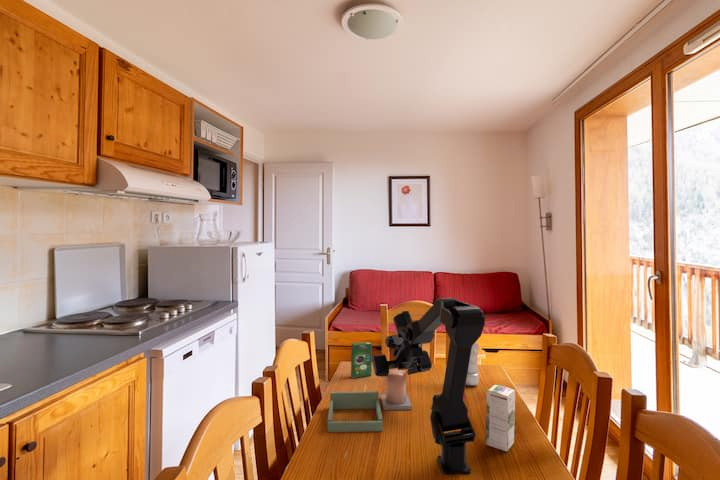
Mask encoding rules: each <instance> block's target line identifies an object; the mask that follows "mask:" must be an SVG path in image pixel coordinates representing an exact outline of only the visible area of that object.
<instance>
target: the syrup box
mask: <svg viewBox="0 0 720 480" xmlns="http://www.w3.org/2000/svg"><path fill="white" fill-rule="evenodd" d="M485 408H486V409H485V410H486V411H485V413H486V414H485V420H486V421H485V422H486V423H485V445H487V446H489V447H491V448H495V449H498V450H501V451H504V452H509V450H510V449H511V447H512V446H513V445H514V444H515V429H516V428H515V427H516V426H515V425H516V424H515V423H516V422H515V421H516V420H515V419H516V390H515V389H513V388H510V387H507V386H502V385H499V384H494V385H493V386H491V387H490V388H489V389H488V390H486V407H485Z"/></svg>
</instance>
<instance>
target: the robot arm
mask: <svg viewBox="0 0 720 480" xmlns="http://www.w3.org/2000/svg"><path fill="white" fill-rule="evenodd" d="M392 321H393V323H394V327H395V330H396V333H397V334H391V335H387V336H386V338H385V345H386V348H387V349H388V348H390V349H392V352H391V354H392V356H393V357H394V358H393V360H388V359H387V355H386V354H385V353H382V354H381V353H380V354H373V355H372V366H373V370H374V375H375V376H376V377H381V378H382V379H384V378H386V376H388V373H389V370H394V369H397V370H402V371H405V370H407V372H406V375H407V376H410V375H415V374H420V373H425V372H429V371H430V370H431V369H432V367H433V364H432V363H433V362H432V359H431V357H430V355H429V352H428V351H427V350H424V349H423V345H424V344H425V345H426V344H430V343H431V342H432V341H433V340H434V338H435V337H436V336H435V331H436V330H437V329H438V328H439V327H440V326H441V325H442V324H443V325H444V330H445V332H446V334H447V336H448V338H449V345H448V351H447V359H446V360H447V361H446V364H445V365H446V366H445V372H444V379H443V385H442V390H441V391H442V392H441V393H440V394H435V395H434V394H433V397H432V403H431V407H430V410H431V413H430V416H429V419H430V425H431V430H432V431H431V432H432V437H433V439H434V443H435V444H437V445H440V447H441V452H440V455H437V456H436V458H437V461H438V464H439V466H440V469H441V472H442V473H443V474H470V473H472V471H471V468H470V465H469V464H468V462H467V443H470V442H472V443H473V442H475V440H476V433H475V430H474V428H473V424H472V422H471V419H470V417H469V409H468V407H467V405H466V404H465V401H464V398H465V397H464V395H465V392H466V391H465V390H466V389H465V388H466V386H467V385H466V379H467V373H468V367H469V361H470V355H471V349H472V346H473V344H474V343H475V342H476V341H477V342H478V340H479V339H480V338H481V336H482V334H483V331H484V328H485V324H486V316H485V313H484V312H483V310H481V308H480V307H479V306H478V305H473V304H470V303H467V302H463V301H461V300H458V299H457V298H454V297H439V298H437V299H435V300H434V302H433V304H432V305H431V307H430V308H429V309H428V310H427V311H426V312H425V313H424V314H423V315H422V317H421V318H419V319H418V320H415V321H414V320H413V317H412V316H411V314H410V311H408V310H402V312H401V313H398V314H396V315H394V316H393V318H392Z"/></svg>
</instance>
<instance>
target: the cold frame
mask: <svg viewBox="0 0 720 480" xmlns="http://www.w3.org/2000/svg"><path fill="white" fill-rule="evenodd" d="M379 395H380V393H379V391H330V392H329V407H328V413H327V414H328V416H327V432H328V433H342V432H343V433H347V432H348V433H351V432H352V433H357V432H362V433H363V432H383V429H384V428H383V427H384V424H383V423H384V422H383V415H382V408H381V404H380V396H379ZM341 409H342V410H344V409H345V410H347V409H348V410H349V409H350V410H351V409H353V410H354V409H355V410H356V409H357V410H358V409H362V410H363V409H375V412H376V419H377V420H348V421H347V420H345V421H344V420H343V421H342V420H340V421H337V420H335V421H334V420H333V417H334V410H341Z"/></svg>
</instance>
